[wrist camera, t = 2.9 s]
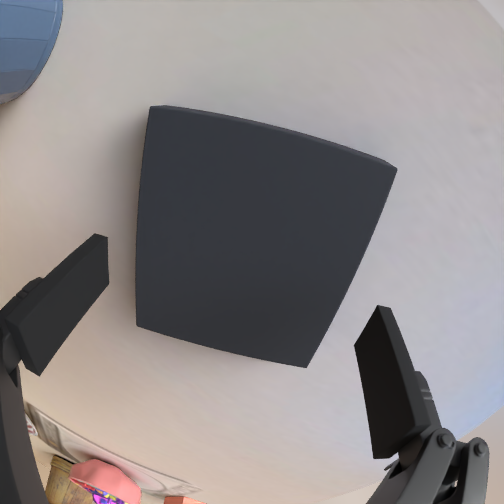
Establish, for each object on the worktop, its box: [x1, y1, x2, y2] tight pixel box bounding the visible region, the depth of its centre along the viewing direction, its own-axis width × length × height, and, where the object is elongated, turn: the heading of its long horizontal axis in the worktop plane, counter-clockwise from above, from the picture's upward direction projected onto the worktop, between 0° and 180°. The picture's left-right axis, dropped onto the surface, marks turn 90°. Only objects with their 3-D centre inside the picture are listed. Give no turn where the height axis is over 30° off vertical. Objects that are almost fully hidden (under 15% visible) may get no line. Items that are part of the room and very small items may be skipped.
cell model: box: [68, 459, 142, 504], centre depth 41 cm, size 17×20×11 cm
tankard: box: [45, 456, 93, 504], centre depth 50 cm, size 18×24×25 cm
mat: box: [136, 105, 397, 368], centre depth 16 cm, size 14×12×2 cm
